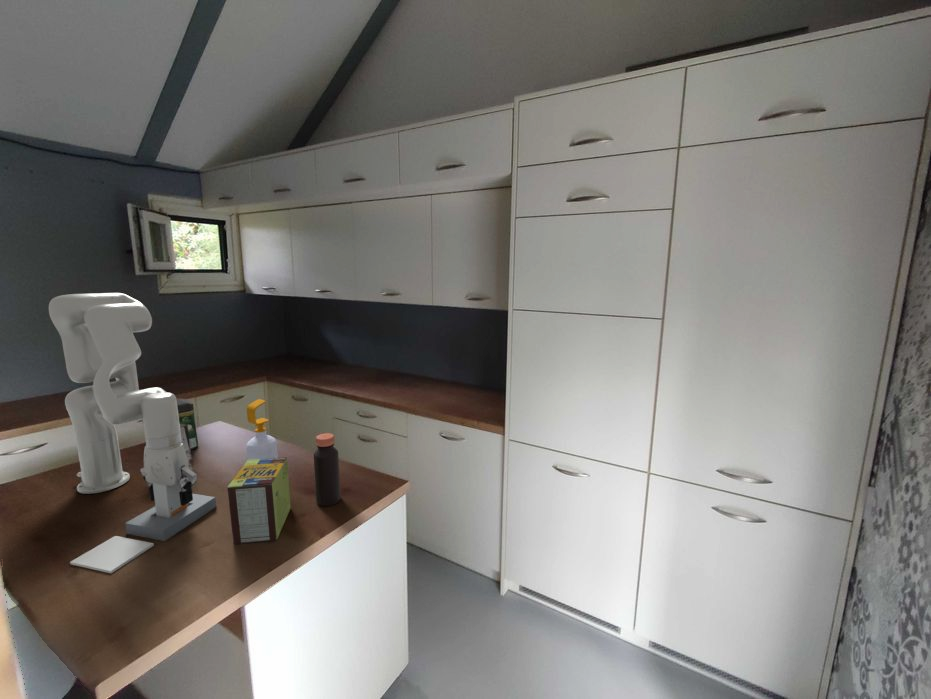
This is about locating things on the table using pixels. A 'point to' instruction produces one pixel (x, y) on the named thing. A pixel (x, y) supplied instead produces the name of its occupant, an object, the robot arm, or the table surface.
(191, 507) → the slotted board
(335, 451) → the vinegar
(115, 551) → the white flat plate
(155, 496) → the skincare box
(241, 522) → the protein box
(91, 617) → the table surface
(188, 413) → the coffee jar
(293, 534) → the table surface
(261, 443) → the soap bottle
